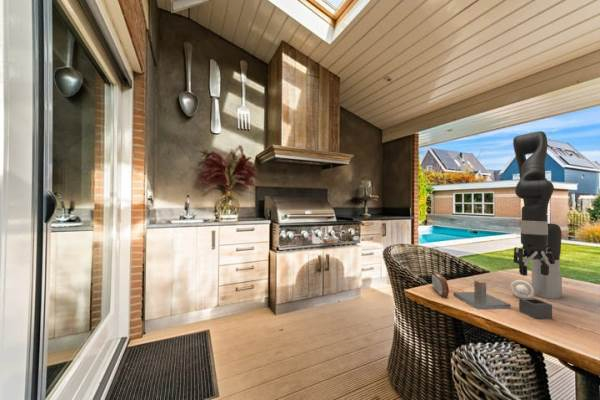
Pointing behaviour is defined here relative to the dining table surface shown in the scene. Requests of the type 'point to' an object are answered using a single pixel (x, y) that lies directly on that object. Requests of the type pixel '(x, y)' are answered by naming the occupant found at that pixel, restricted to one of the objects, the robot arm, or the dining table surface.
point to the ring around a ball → (522, 289)
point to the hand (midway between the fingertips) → (534, 275)
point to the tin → (440, 284)
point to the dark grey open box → (535, 308)
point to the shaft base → (481, 303)
